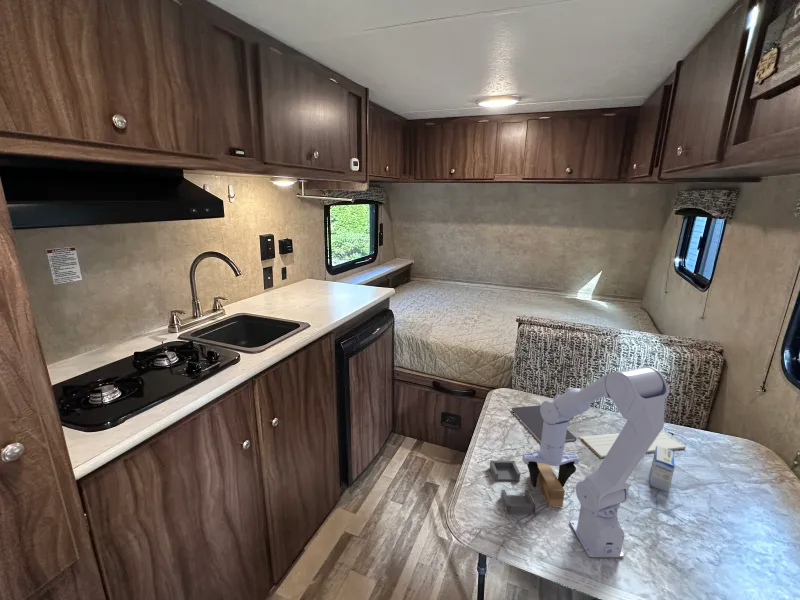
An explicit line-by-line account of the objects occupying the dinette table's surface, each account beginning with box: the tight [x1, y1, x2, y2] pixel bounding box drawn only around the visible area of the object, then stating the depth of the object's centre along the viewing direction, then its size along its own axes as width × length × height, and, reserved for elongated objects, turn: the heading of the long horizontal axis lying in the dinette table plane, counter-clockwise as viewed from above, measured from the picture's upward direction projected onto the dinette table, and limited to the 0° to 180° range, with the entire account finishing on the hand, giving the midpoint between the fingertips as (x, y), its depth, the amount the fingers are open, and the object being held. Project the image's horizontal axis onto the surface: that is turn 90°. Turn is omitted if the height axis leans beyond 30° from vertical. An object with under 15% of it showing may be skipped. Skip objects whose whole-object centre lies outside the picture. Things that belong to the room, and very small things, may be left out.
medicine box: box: [649, 446, 676, 493], centre depth 102 cm, size 8×4×9 cm, turn 145°
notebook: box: [511, 404, 577, 444], centre depth 130 cm, size 13×2×21 cm
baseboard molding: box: [578, 429, 687, 459], centre depth 121 cm, size 31×3×12 cm
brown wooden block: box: [537, 463, 566, 507], centre depth 99 cm, size 12×4×5 cm, turn 1°
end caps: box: [489, 460, 537, 515], centre depth 99 cm, size 17×7×2 cm, turn 1°
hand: (546, 484), depth 99 cm, fingers open, 7 cm apart
